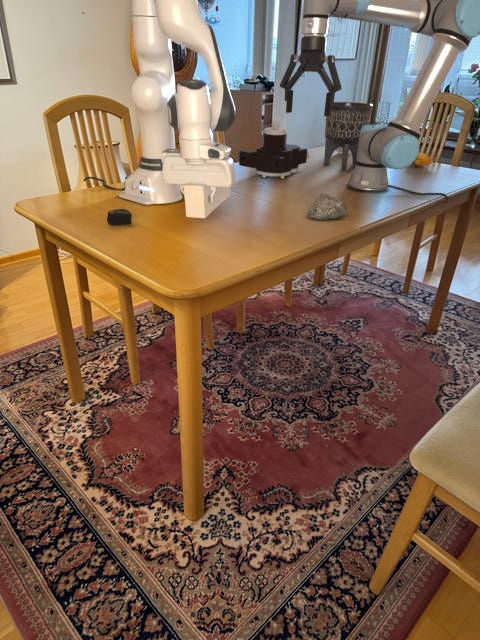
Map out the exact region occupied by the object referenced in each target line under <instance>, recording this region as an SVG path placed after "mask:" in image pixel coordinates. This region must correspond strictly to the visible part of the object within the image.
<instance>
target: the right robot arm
mask: <svg viewBox="0 0 480 640" xmlns="http://www.w3.org/2000/svg"><path fill="white" fill-rule="evenodd" d="M330 18H337V19H346V20H352V21H360V22H366V23H373V24H379V25H386V26H393V27H398V28H399V27H400V28H404V29H408V30H409V32H410V33H415V34H419V35H423V36H428V37H431V38H432V40H433V44H432V46H431V48H430V50H429V52H428V54H427V56H426V58H425V60H424V62H423V64H422V66H421V68H420V70H419V72H418V74H417V76H416V78H415V80H414V82H413V84H412V86H411V88H410V90H409V92H408V95H407V96H406V98H405V100H404V102H403V104H402V106H401V108H400V110H399V112H398V114H397V116H396V117H395V118H394V119H391V120H389V121H388V124H369V125H363V126H362V128H361V131H360V135H359V143H358V151H357V158H356V165H355V166H354V167H353V171H351V174H350V176H349V179H348V180H347V181H348V182H347V187H348V188H349V189H351V190H354V191H358V192H363V193H364V192H365V193H382V192H386V191H388V189H389V188H391V189H393V190H398V191H401V192H405V193H408V194H412V195H416V196H441V197H444V198H445V199H446V200H450V197H449V196H448V194H446V193H444V192H417V191H415V190H414V191H413V190H410V189H406V188H402V187H399V186H396V185H391V184H389V178H388V173H387V172H388V171H387V168H388V169H391V170H392V169H393V170H402V169H405V168H407V167H409V166H410V165H412V163H413V161H414V160H415V159H416V157H417V155H418V153H420V142H419V139H420V137H421V135H422V133H421V129H420V128H421V126H422V124H423V122H424V120H425V119H426V117H427V115H428V113H429V111H430V109H431V107H432V105H433V103H434V102H435V100H436V97H437V96H438V94H439V92H440V90H441V88H442V86H443V84H444V82H445V81H446V79H447V77H448V75H449V73H450V71H451V70H452V67H453V66H454V63H455V62H456V60H457V58H458V57H459V54H460V53H462V52H465V51H467V49H468V47H469V46H470V43H471V42H472V40H473V39H474V38H477V37H478V36H479V35H480V0H303V16H302V24H301V25H302V27H301V35H303V36H302V37H301V38H300V54H299V55H298V54H294V53H293V54H291V55H290V57H289V58H290V59H289V63H288V65H287V67H286V70H285V72H284V74H283V76H282V78H281V81H280V83H279V87H280V88H281V89H284V101H285V102H286V104H285V113H286V114H290V113H293V104H294V103H293V101H294V89H292V88H293V87H294V86H295V85H296V83H297V82H298V81H299V80H300V78H301V77H302V75H303V74H304V73H305V72H307V73H308V72H310V73H311V72H312V73H317V74H318V75H319V76H320V79H321V81H322V82H323V84H324V85H325V87H326V89H327V90H328V92H326V93H325V103H324V112H323V117H326V116H330V110H331V104H333V103H334V102H335V97H336V96H335V95H336V93H337V92H339V91H341V90H342V89H343V88H342V84H341V80H340V77H339V73H338V69H337V66H336V57H335V55H334V54H329V55H326V50H327V49H326V48H327V40H328V39H327V37H326V36H327V35H328V31H329V29H328V28H329V20H330ZM325 62H326V64H327V68H328V71H329V74H330V77H329V75H328V73H327V71H326V68H325V66H324V63H325ZM298 63H300V65H299V66H298V67H297V69H296V71H295V68H296V66H297V64H298ZM294 71H295V72H294Z"/></svg>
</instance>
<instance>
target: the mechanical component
mask: <svg viewBox="0 0 480 640" xmlns="http://www.w3.org/2000/svg"><path fill="white" fill-rule="evenodd" d="M287 138H288V129H287V128H286V127H280V121H279V120H272V126H271V127H265V128H264V129H263V145H262V146H258V147H257V148H256V151H250V150H245V149H241V150H239V153H238V154H239V155H238V157H239V159H238V166H240V167H245V168H250V169H255V173H256V174H257V175H261V177H262V178H267V177H279V178H280V179H285V176H291V175H292V173H298V171H299V167H300V165H303V164H304V165H305V164H307V160H309V158H310V156H311V154H310V152H309V151H308V148H304V147H301V146H299V145H297V144H290V143H287Z"/></svg>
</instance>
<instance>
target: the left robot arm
mask: <svg viewBox="0 0 480 640" xmlns="http://www.w3.org/2000/svg"><path fill="white" fill-rule="evenodd" d="M131 20H132V21H131V22H132V35H133V36H132V37H133V50H134V52H135V56H136V60H137V66H138V70H139V75H138V76H137V77H136V78H135V79H134V81H133V82H132V85H131V88H130V96H131V100H132V102H133V106H134V110H135V111H134V112H135V115H136V120H137V124H138V128H139V135H140V147H141V156H140V157H136V161H135V162H136V163H138V168H136V169H135V170H134V171H133V172H131V174H129V175H128V176H124V187H122V188H116V187H113V186H110V185H107V184H106V180H104V179H101V178H98V177H95V176H87V177H84V179H83V180H82V181H83V182H86V181H87V180H96V181H99V182H102V186H103V187H105V188H106V189H109V190H115V191H116V190H117V191H121V192H119V194H118V197H119V198H121V199H124V200H128V201H131V202H133V203H134V202H135V203H138V204H141V205H144V206H146V205H148V206H149V205H161V204H164V205H165V204H171V203H172V204H173V203H177V202H179V201H181V200H183V198H184V200H185V195H184V185H185V184H186V183H192V184H206V186H211V190H213V192H212V194H211V195H209V196H208V202H212V203H213V202H214V201H215V194H216V192H217V190H218V187H231V188H232V187H233V185H234V184H235V183H236V170H235V164H234V161H233V159H232V158H231V156H230V155H231V152H232V149H231V147H230V146H229V145H228V146H227V145H225V144H222V143H220V142H218V141H215V140H214V137H213V132H220V133H221V132H222V133H223V132H224V133H225V132H226V131H228V130H229V129H230V128H231V127H232V126H233V125H234V123H235V121H236V107H235V103H234V99H233V96H232V93H231V90H230V86H229V83H228V80H227V75H226V70H225V67H224V64H223V63H224V62H223V58H222V55H221V51H220V47H219V43H218V40H217V37H216V34H215V30H214V29H213V27H212V25H210V24H208V23H207V22H206V20H205V19H204V17H203V14H202V13H201V11H200V7H199V2H198V0H131ZM172 42H173V43H175V44H177V45H179V46H181V47H184V48H187V49H189V50H191V51H193V52H195V53H197V54H198V55H199V56H200V57H201V58H202V60H203V61H204V64H205V67H206V71H207V75H208V79H209V82H210V83H209V84H210V87H211V90H212V91H210V90H209V86H208V83H207V82H205V81H204V80H200V79H194V78H193V79H183V80H181V81H179V82H178V83H177V85H176V80H175V79H176V78H175V69H174V68H175V67H174V60H173V53H172ZM175 131H176V132H179V136H178V142H179V148H176V139H175V138H176V137H175ZM183 196H184V197H183Z"/></svg>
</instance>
